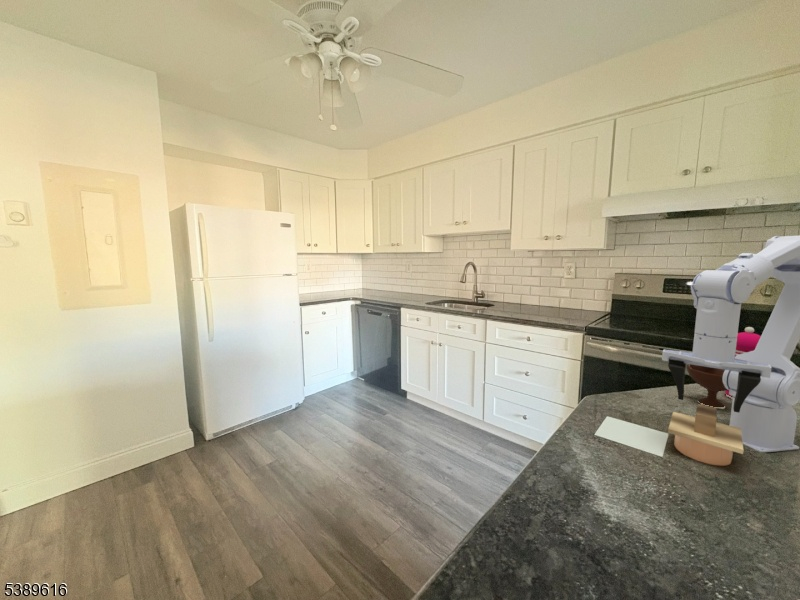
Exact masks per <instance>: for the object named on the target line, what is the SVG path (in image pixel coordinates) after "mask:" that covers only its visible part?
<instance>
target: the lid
mask: <svg viewBox="0 0 800 600" xmlns="http://www.w3.org/2000/svg"><path fill="white" fill-rule="evenodd" d="M717 410H718V409H717V408H714V407H710V406H705V405H701V404H698V403H697V405H696V411H695V416H693V415H688V414H684V413H680V412H676V411H673V412H672V415H671V418H670V422H669V425H668V429H667V433H668V434H669V435H670V434H671V435H674V436H675V435H677V436H681V437H684V438H688V439H691V440H695V441H698V442H702V443H706V444H709V445H713V446H716V447H720V448H723V449H727V450H730V451H733V453H738V454H741V455H743V454H744V450H745V449H744V444H743V442H742V435H741V428H738V427H734V426H730V425H728V424H725V423H721V422H717V420H718V419H717V418H718V413H717Z"/></svg>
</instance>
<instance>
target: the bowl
mask: <svg viewBox="0 0 800 600" xmlns="http://www.w3.org/2000/svg"><path fill="white" fill-rule="evenodd" d="M673 441H674V442H673V445H674V447H675V449H676V450H677V451H678V452H680V453H681V454H683V455H684V456H686V457H688V458H690V459H693V460H695V461H697V462H701V463H703V464H707V465H713V466H721V467H722V466H728V465H731V463H732V461H733V455H734V454H733V453H734V451H730V450H727V449H723V448H720V447H716V446H713V445H709V444H706V443H702V442H698V441H695V440H691V439H688V438H684V437H681V436H677V435H674V440H673Z"/></svg>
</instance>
